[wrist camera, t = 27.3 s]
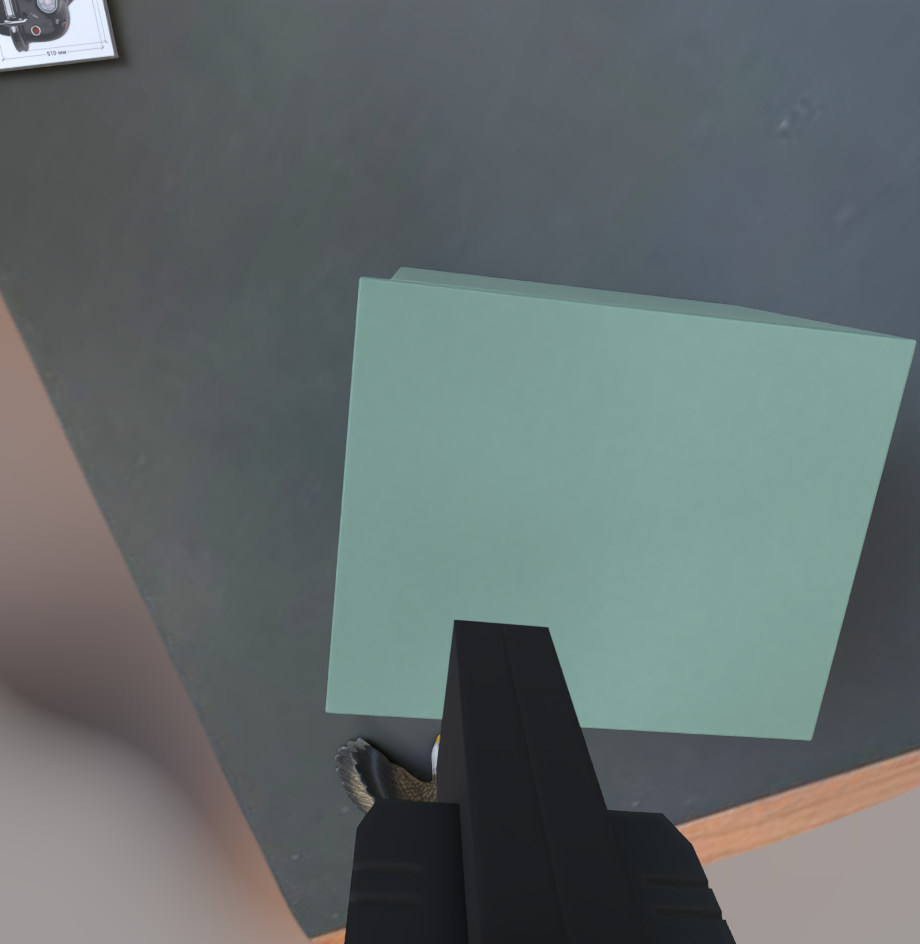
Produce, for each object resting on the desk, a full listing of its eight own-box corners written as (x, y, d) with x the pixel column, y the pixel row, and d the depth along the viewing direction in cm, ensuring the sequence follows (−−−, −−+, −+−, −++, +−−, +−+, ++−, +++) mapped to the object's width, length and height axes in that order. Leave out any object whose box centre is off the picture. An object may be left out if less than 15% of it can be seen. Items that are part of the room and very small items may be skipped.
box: (374, 548, 40) (353, 692, 27) (400, 266, 36) (389, 278, 23) (681, 575, 41) (800, 726, 28) (735, 305, 37) (900, 337, 25)
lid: (327, 699, 26) (325, 713, 26) (360, 275, 23) (359, 277, 22) (800, 726, 28) (812, 741, 27) (901, 337, 24) (918, 340, 24)
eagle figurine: (526, 710, 41) (353, 701, 39) (546, 860, 37) (352, 860, 34) (479, 764, 47) (324, 758, 44) (491, 900, 42) (320, 902, 40)
